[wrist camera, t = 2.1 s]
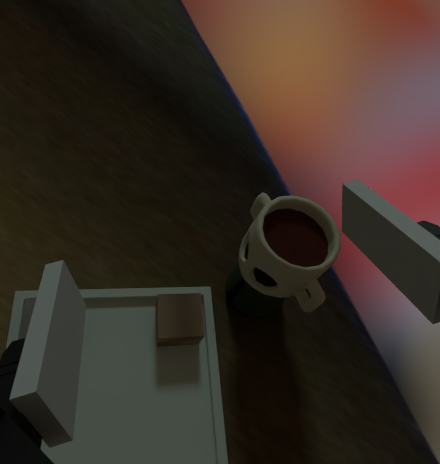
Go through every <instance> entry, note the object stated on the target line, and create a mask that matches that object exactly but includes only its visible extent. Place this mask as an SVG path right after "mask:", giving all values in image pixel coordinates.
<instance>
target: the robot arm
mask: <svg viewBox="0 0 440 464" xmlns="http://www.w3.org/2000/svg"><path fill="white" fill-rule="evenodd" d="M342 194H343V195H342V232H343V233H344V234H345V235H346V236H347V237H348V238H349V239H350V240H351V241H352V242H353V243H354V244H355V245H356V246H357V247H358V248H359V249H360V250H361V251H362V252H363V253H364V254H365V255H366V256H367V257H368V258H369V259H370V260H371V261H372V263H373V264H374V265H375V266H377V268H378V269H379V270H380V271H381V272H382V273H383V274H384V275H385V276H386V277H387V278H388V279H389V280H390V281H391V282H392V283H393V284H394V285H395V286H396V287H397V288H398V289H399V290H400V291H401V292H402V293H403V294H404V295H405V296H406V297H407V298H408V299H409V300H410V301H411V302H412V303H413V304H414V305H415V306H416V307H417V308H418V309H419V310H420V311H421V313H422V314H423V315H424V316H425V317H426V318H427V319H428V320H429V321H430V322H431V323H432V324H435V323H438V322H440V227H439V226H438V225H435V224H432V223H429V222H427V221H421V222H418V223H416V222H415V221H413V220H412V219H410V218H409V217H408V216H406V215H405V214H404V213H402V212H401V211H400V210H398V209H397V208H396V207H394V206H393V205H392V204H390V203H389V202H387V201H386V200H385V199H384V198H382V197H381V196H379V195H378V194H377V193H375V192H374V191H373V190H371V189H370V188H369V187H367V186H366V185H365V184H363V183H362V182H361V181H359V180H358V179H357V180H353V181H350V182H346V183H343V192H342ZM85 314H86V303H85V301H84V299H83V297H82V296H81V294H80V292H79V290H78V288H77V286H76V284H75V282H74V280H73V278H72V276H71V274H70V272H69V270H68V268H67V266H66V264H65V262H64V260H61V261H58V262H54V263H50V264H47V265H45V269H44V272H43V276H42V280H41V283H40V287H39V291H38V295H37V298H36V302H35V306H34V309H33V313H32V317H31V321H30V324H29V328H28V332H27V335H26V338H23V339H19V340H16V341H12V342H11V343H10V345H9V346H8V347H7V349H6V350H5V352H4V353H3V354H2V357H1V360H0V464H54V463H53V462H52V461H51V460H50V459H49V458H48V457H47V456H46V455H45V454H44V452H43V451H42V450H41V443H42V440H43V441H44V442H45V443H46V444H47V446H48V447H49V448H51V447H54V446H57V445H60V444H63V443H67V442H70V441H73V435H74V425H75V415H76V405H77V395H78V384H79V374H80V364H81V354H82V344H83V334H84V324H85Z"/></svg>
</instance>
